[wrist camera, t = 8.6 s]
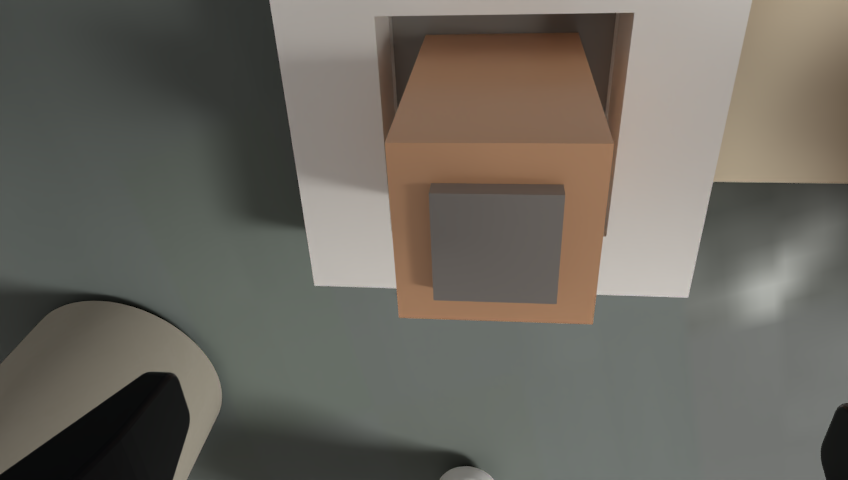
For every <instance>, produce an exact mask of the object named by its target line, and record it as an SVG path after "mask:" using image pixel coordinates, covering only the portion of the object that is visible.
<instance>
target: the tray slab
mask: <svg viewBox="0 0 848 480" xmlns="http://www.w3.org/2000/svg"><path fill="white" fill-rule="evenodd" d="M713 182H765V183H841V184H848V0H752V4H751V9H750V13H749V18H748V22H747V27H746V32H745V36H744V41H743V46H742V50H741V55H740V59H739V64H738V69H737V73H736V78H735V83H734V87H733V92H732V96H731V101H730V106H729V110H728V115H727V120H726V124H725V129H724V133H723V138H722V143H721V147H720V152H719V157H718V161H717V166H716V170H715V175H714V180H713Z"/></svg>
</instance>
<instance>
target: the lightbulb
mask: <svg viewBox="0 0 848 480" xmlns="http://www.w3.org/2000/svg"><path fill="white" fill-rule="evenodd" d="M440 480H494V479H493V478H492V477H491V476H490V475H489V474H488V473H486V472H485V471H483V470H481V469H478V468H475V467H470V466H462V467H456V468H453V469H450V470H449V471H447V472H446V473H444V474H443V475H442V476H441V478H440Z"/></svg>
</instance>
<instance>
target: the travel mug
mask: <svg viewBox="0 0 848 480" xmlns="http://www.w3.org/2000/svg"><path fill="white" fill-rule="evenodd" d="M146 372H171V373H174V374H175V375H176V376H177V377H178V379H179V381H180V384H181V387H182V390H183V393H184V397H185V400H186V403H187V406H188V409H189V413H190V424H189V429H188V433H187V436H186V439H185V442H184V446H183V449H182V452H181V455H180V459H179V462H178V465H177V468H176V471H175V475H174V478H173V480H187V478H188V476H189V474H190V472H191V470H192V468H193V466H194V464H195V461H196V459H197V457H198V455H199V453H200V451H201V449H202V447H203V445H204V443H205V441H206V439H207V437H208V435H209V433H210V431H211V429H212V426H213V424H214V422H215V420H216V418H217V416H218V414H219V412H220V408H221V403H222V390H221V385H220V381H219V378H218V375H217V373H216V371H215V369H214V367H213V365H212V363H211V362H210V360H209V359H208V357H207V356H206V355H205V354H204V352H203V351H202V350H201V349H200V348H199V347H198V346H197V345H196V344H195V343H194V342H193V341H192V340H191V339H190V338H189V337H188V336H187V335H185V334H184V333H183V332H182V331H180V330H179V329H177V328H176V327H174V326H173V325H171V324H170V323H168V322H166V321H165V320H163V319H161V318H159V317H157V316H155V315H153V314H151V313H148V312H146V311H143V310H141V309H138V308H135V307H132V306H128V305H124V304H119V303H114V302H106V301H82V302H75V303H71V304H67V305H64V306H61V307H59V308H57V309H55V310H53V311H52V312H50V313H49V314H47V315H46V316H45V317H44V318H43V319H42V320H41V321H40V322H39V323H38V324H37V325H36V326H35V327H34V329H33V330H32V331H31V332H30V333H29V334H28V335H27V336H26V337H25V338H24V339H23V340H22V341H21V343H20V344H19V345H18V346H17V347H16V348H15V349H14V350H13V351H12V352H11V353H10V354H9V355H8V357H7V358H6V359H5V360H4V361H3V362H2V363H1V364H0V474H1V473H3V472H4V471H6V470H7V469H8V468H10V467H11V466H13V465H14V464H15V463H17V462H18V461H20V460H21V459H23V458H24V457H25V456H27V455H28V454H30V453H31V452H33V451H34V450H35V449H37V448H38V447H40V446H41V445H42V444H44V443H45V442H47V441H48V440H50V439H51V438H52V437H54V436H55V435H57V434H58V433H60V432H61V431H62V430H64V429H65V428H67V427H68V426H69V425H71V424H72V423H74V422H75V421H77V420H78V419H79V418H81V417H82V416H84V415H85V414H87V413H88V412H89V411H91V410H92V409H94V408H95V407H96V406H98V405H99V404H101V403H102V402H104V401H105V400H106V399H108V398H109V397H111V396H112V395H114V394H115V393H116V392H118V391H119V390H121V389H122V388H123V387H125V386H126V385H128V384H129V383H131V382H132V381H133V380H135V379H136V378H138V377H139V376H141V375H142V374H144V373H146Z"/></svg>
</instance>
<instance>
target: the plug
mask: <svg viewBox="0 0 848 480" xmlns="http://www.w3.org/2000/svg"><path fill="white" fill-rule="evenodd" d="M613 150H614V141H613V138H612V135H611V132H610V129H609V126H608V123H607V120H606V117H605V114H604V111H603V107H602V104H601V101H600V98H599V95H598V92H597V89H596V86H595V83H594V80H593V76H592V73H591V70H590V67H589V64H588V61H587V58H586V55H585V52H584V49H583V46H582V42H581V39H580V36H579V33H516V34H449V35H425V38H424V41H423V43H422V46H421V49H420V51H419V54H418V56H417V59H416V62H415V64H414V67H413V70H412V72H411V75H410V78H409V80H408V83H407V85H406V88H405V91H404V93H403V96H402V99H401V101H400V104H399V106H398V109H397V112H396V114H395V117H394V120H393V122H392V125H391V128H390V130H389V133H388V135H387V138H386V141H385V152H386V165H387V177H388V189H389V201H390V214H391V226H392V238H393V250H394V263H395V275H396V287H397V299H398V312H399V318H421V319H450V320H480V321H509V322H538V323H568V324H593V318H594V310H595V301H596V293H597V285H598V276H599V268H600V259H601V251H602V242H603V234H604V226H605V217H606V209H607V200H608V192H609V183H610V175H611V167H612V158H613Z"/></svg>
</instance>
